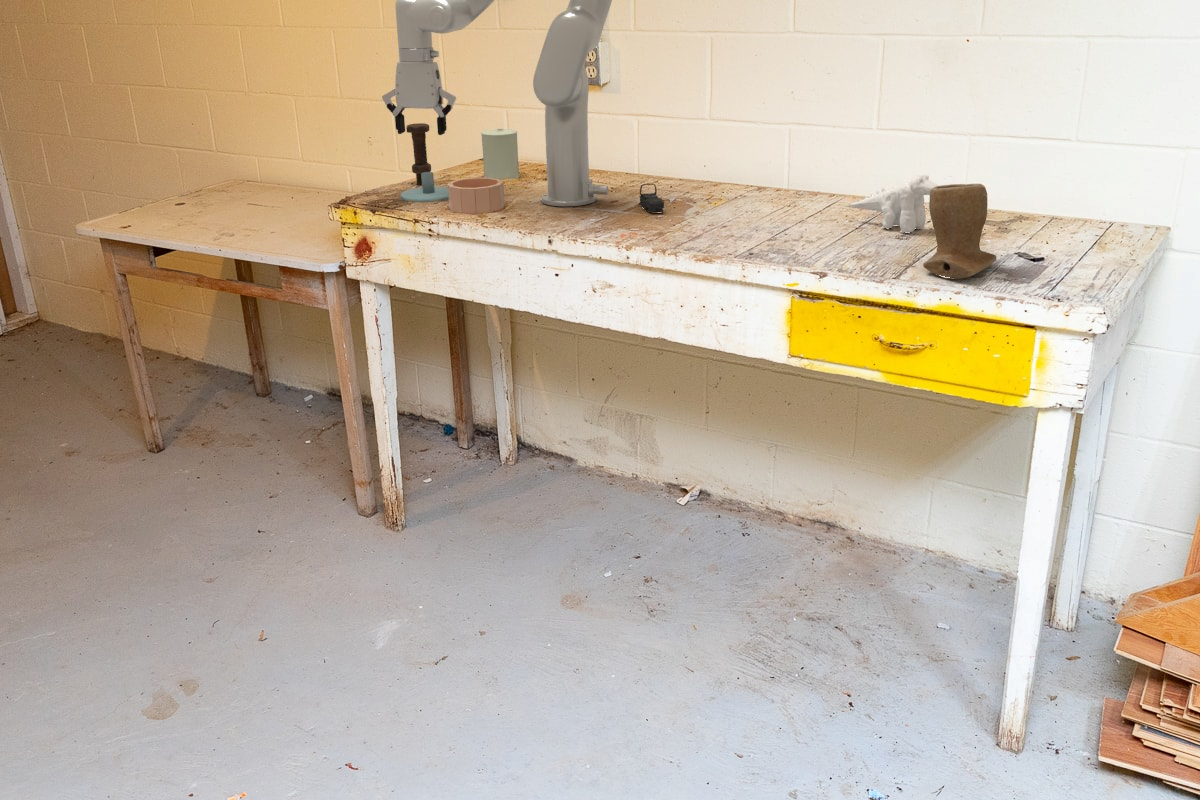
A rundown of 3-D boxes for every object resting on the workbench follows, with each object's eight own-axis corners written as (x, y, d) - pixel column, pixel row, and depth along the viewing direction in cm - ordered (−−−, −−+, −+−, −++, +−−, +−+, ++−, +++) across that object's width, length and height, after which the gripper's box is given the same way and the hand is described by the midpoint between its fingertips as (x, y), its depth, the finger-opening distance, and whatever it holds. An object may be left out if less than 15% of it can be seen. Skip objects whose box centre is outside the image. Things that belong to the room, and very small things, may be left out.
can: (520, 173, 272) (517, 126, 268) (519, 180, 264) (517, 132, 259) (484, 174, 272) (481, 127, 267) (483, 181, 263) (479, 133, 259)
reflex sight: (647, 216, 226) (647, 193, 224) (638, 205, 235) (638, 183, 233) (665, 215, 227) (665, 192, 225) (655, 204, 236) (655, 182, 234)
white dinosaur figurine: (943, 237, 199) (944, 179, 196) (835, 230, 216) (834, 176, 212) (961, 230, 204) (962, 173, 200) (853, 224, 220) (853, 171, 217)
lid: (463, 190, 252) (461, 168, 250) (446, 202, 240) (445, 179, 238) (412, 189, 254) (410, 167, 252) (393, 201, 242) (390, 178, 240)
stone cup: (937, 255, 192) (946, 173, 186) (1003, 265, 185) (1014, 180, 179) (903, 274, 181) (911, 188, 175) (971, 286, 174) (982, 196, 168)
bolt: (431, 188, 257) (425, 126, 251) (411, 189, 257) (405, 126, 252) (435, 183, 263) (429, 122, 257) (415, 184, 263) (409, 123, 257)
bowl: (509, 204, 239) (508, 177, 237) (495, 216, 228) (494, 189, 226) (459, 203, 241) (457, 177, 239) (443, 215, 230) (441, 188, 228)
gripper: (458, 55, 237) (462, 132, 243) (385, 54, 239) (391, 130, 246) (447, 58, 230) (452, 137, 237) (373, 57, 233) (380, 135, 239)
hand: (421, 133), depth 241 cm, fingers open, 9 cm apart
